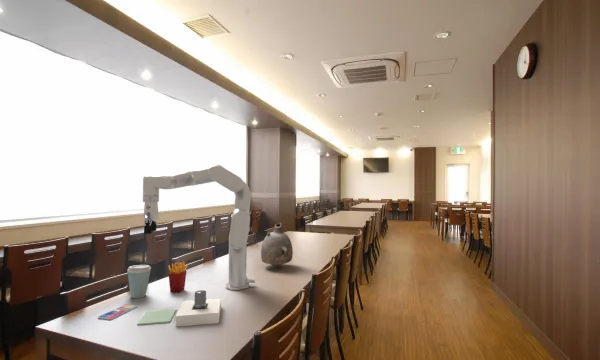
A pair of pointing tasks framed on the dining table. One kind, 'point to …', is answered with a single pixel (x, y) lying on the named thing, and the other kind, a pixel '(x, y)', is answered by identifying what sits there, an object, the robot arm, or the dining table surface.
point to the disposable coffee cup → (138, 280)
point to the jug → (276, 247)
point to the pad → (157, 317)
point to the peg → (200, 300)
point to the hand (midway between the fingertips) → (150, 232)
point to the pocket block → (198, 313)
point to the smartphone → (117, 312)
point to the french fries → (177, 277)
